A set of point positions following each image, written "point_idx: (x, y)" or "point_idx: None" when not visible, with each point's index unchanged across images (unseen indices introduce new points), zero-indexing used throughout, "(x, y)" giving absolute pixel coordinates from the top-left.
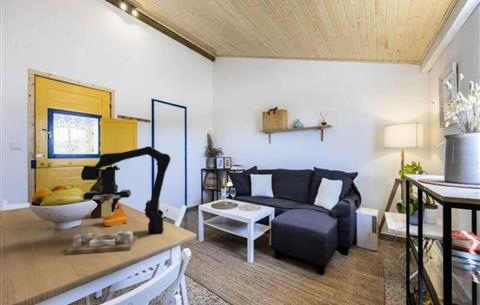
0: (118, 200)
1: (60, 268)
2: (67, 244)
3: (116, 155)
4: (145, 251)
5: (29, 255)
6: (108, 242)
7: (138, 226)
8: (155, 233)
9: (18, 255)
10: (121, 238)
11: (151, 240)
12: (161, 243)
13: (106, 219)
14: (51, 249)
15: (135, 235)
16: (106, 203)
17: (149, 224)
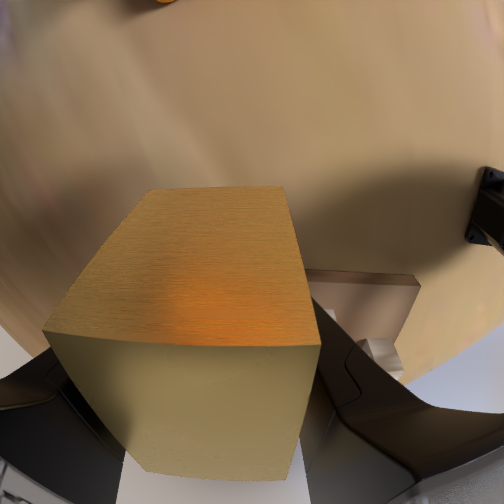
0: (418, 410)
1: None
2: (76, 272)
3: None
4: (410, 376)
5: (34, 327)
6: None
7: (420, 57)
8: (488, 244)
9: (9, 316)
10: (342, 315)
11: (453, 306)
12: (468, 333)
13: None
14: (56, 304)
15: (410, 289)
16: (211, 476)
17: (500, 248)
